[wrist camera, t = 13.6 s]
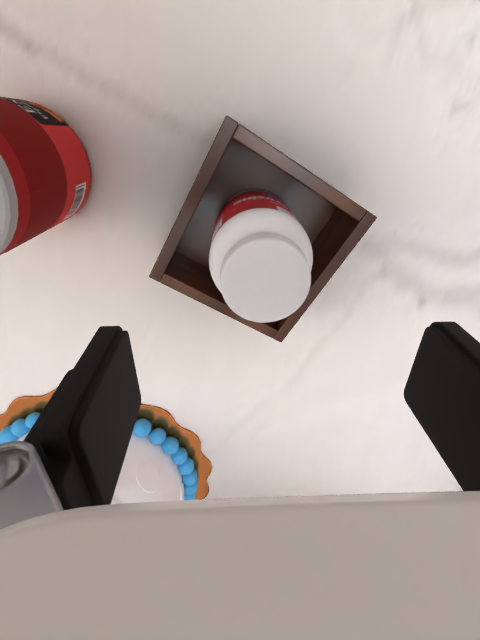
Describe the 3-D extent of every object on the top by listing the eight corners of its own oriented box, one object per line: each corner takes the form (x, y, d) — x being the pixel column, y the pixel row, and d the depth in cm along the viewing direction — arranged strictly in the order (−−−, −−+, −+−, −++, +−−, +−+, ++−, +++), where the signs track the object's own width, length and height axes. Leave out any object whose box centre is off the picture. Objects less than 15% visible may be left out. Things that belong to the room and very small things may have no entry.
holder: (163, 250, 28) (148, 277, 23) (227, 118, 23) (226, 114, 18) (273, 308, 31) (281, 342, 26) (349, 200, 26) (377, 217, 21)
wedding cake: (-50, 378, 34) (-286, 585, 19) (220, 399, 36) (212, 600, 21) (9, 527, 48) (-98, 719, 32) (202, 536, 50) (189, 719, 35)
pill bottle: (305, 204, 26) (349, 248, 16) (274, 274, 28) (296, 347, 19) (229, 175, 24) (227, 203, 15) (205, 251, 27) (190, 317, 18)
